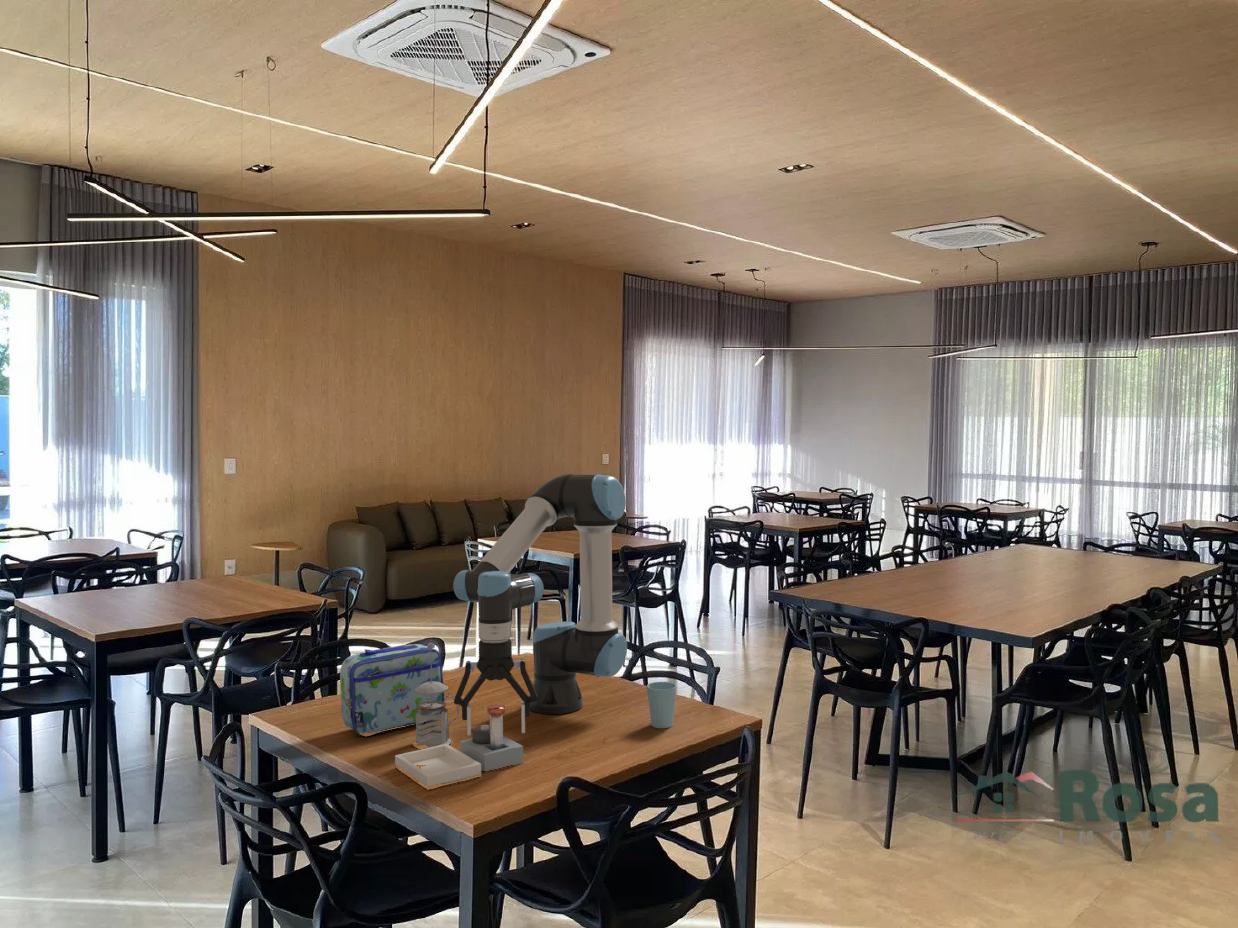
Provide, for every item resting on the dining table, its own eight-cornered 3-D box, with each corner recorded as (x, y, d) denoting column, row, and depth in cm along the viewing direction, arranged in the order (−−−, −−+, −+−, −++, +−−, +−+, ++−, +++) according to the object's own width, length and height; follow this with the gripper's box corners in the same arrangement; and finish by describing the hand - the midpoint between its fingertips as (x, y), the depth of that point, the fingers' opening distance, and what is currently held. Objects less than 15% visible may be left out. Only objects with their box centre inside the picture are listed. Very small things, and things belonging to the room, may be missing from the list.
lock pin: (485, 762, 223) (484, 706, 222) (500, 759, 225) (499, 703, 225) (493, 767, 220) (492, 710, 219) (508, 763, 222) (507, 707, 222)
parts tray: (395, 768, 220) (395, 755, 220) (446, 756, 228) (446, 743, 227) (427, 790, 206) (427, 776, 206) (481, 777, 214) (481, 763, 214)
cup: (682, 727, 248) (681, 687, 247) (655, 731, 245) (655, 690, 244) (668, 719, 255) (668, 680, 254) (642, 723, 252) (642, 683, 251)
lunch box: (352, 742, 238) (350, 658, 237) (337, 731, 247) (335, 650, 246) (448, 722, 254) (446, 643, 253) (430, 712, 262) (429, 636, 261)
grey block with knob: (460, 757, 226) (459, 726, 226) (497, 749, 232) (497, 718, 232) (484, 772, 217) (484, 740, 216) (523, 762, 223) (522, 731, 222)
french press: (417, 737, 242) (415, 638, 241) (463, 737, 242) (461, 638, 240) (407, 750, 232) (405, 647, 231) (455, 750, 232) (453, 647, 231)
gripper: (441, 644, 216) (442, 739, 217) (547, 641, 219) (549, 735, 220) (443, 637, 224) (444, 729, 225) (546, 634, 226) (547, 725, 227)
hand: (496, 732), depth 222 cm, fingers open, 12 cm apart
